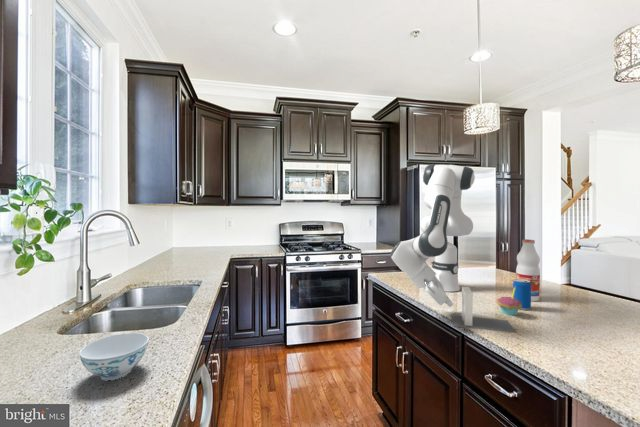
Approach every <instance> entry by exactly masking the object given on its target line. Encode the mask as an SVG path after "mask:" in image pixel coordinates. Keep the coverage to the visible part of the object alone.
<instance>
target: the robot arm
mask: <svg viewBox="0 0 640 427" xmlns="http://www.w3.org/2000/svg"><path fill="white" fill-rule="evenodd" d="M475 178H476V176H475V172H474V169H473V168H471V167H469V166H465V165H464V166H461V165H455V164H435V163H432V164H428V165H427V166H426V167H425V168H424V170H423V173H422V179H423V180H422V181H423V183H424V185H426V188H425V193H424V199H423V201H424V202H423V203H424V204H425V206H426V207H427V208H429V209H430V210H431V212H430V213H431V214H430V215H426V216H424V217H423V218H422V219H421V220H420V228H421V232H422V233H421V234H420V235H418V236H416V237H414V238H410V239H408V240H403V241H402V240H401V241H399V242H397V243H396V244H395V245H394V247H393V248H392V249H391V252H390V258H391V260H392V261H393V262H394V264H395V265H396V267H398V269H400V270H401V272H402V273H405V274H406V275H407V277H408V278H409V280H410V281H411V282H412V283H413V284H414V285H415V286H416V287H417V288H418V289H423V290H425V291H426V293H427V294H428V295H429V296H430V297H431V298H432V299H433V300H434V301H435V302H436V304H438V305H439V306H442V305H443V304H446V305H447V306H448V307H449V308H451V307H453V301H452V300H451V299H450V298H449V297H448V295H447V294H446V292H458V291H460V290H461V286H460V283H459V276H458V275H459V274H458V272H459V263H458V248H457V247H456V245H454V244H453V243H451V242H449V241H448V237H464V236H469V235H471V233H472V232H473V229H474V222H473V221H472V219H471V218H470V217H469V216H468V215H466V214H465V213H464V212H463V209H462V193H463V191H467V190H469V189H471V188H472V186H473V184H474V182H475ZM431 258H434V260H433V261H431V262H430V265H431V267H430V266H429V264H427V260H428V259H431Z"/></svg>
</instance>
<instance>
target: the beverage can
mask: <svg viewBox="0 0 640 427" xmlns="http://www.w3.org/2000/svg"><path fill="white" fill-rule="evenodd" d="M515 286H516V287H515ZM514 288H516V289H515V294H514V298H515V299H517V300H519V301H520V302H521V303H522V307H521V308H520V309H519V310H522V311H528V310H529V309H531V307H532V301H531V283H530V281H529V280H525V279H516V278H515V279H514V280H513V283H512V290H513V289H514Z"/></svg>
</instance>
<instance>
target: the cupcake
mask: <svg viewBox="0 0 640 427" xmlns="http://www.w3.org/2000/svg"><path fill="white" fill-rule="evenodd" d="M515 287H516V286H515ZM515 289H516V288H514V289H513V288H512V293H511V296H502V297H500V298H498V299H497V301H496V304H497V305H498V306H499V307H500V310H501V313H502V314H503V315H507V316H517V314H518V312H519V310H521V309H520V308H521V307H522V303H521V302H520V301H519V300H517V299H515V298H514V294H515Z"/></svg>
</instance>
